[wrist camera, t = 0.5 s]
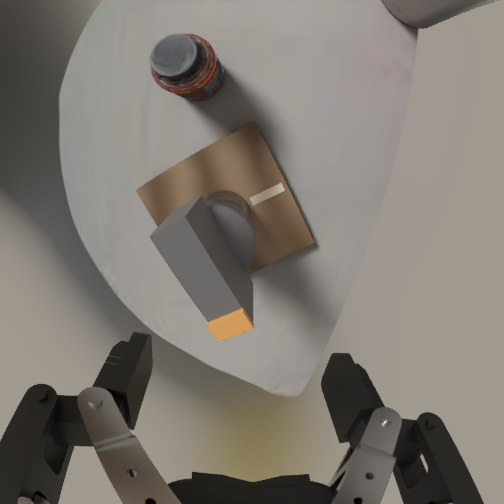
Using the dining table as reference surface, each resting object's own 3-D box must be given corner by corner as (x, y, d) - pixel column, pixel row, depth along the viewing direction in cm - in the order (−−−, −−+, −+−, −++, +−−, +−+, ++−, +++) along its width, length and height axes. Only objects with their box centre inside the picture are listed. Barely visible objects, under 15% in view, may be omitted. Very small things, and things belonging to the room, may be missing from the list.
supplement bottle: (227, 55, 27) (215, 21, 17) (222, 102, 30) (207, 87, 19) (177, 55, 27) (143, 26, 17) (172, 101, 29) (135, 90, 19)
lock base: (254, 122, 30) (255, 118, 22) (312, 238, 36) (328, 271, 28) (140, 187, 33) (107, 206, 25) (203, 288, 39) (192, 329, 31)
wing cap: (160, 215, 25) (123, 253, 18) (226, 178, 24) (213, 202, 16) (209, 292, 29) (195, 349, 21) (273, 263, 27) (280, 317, 19)
